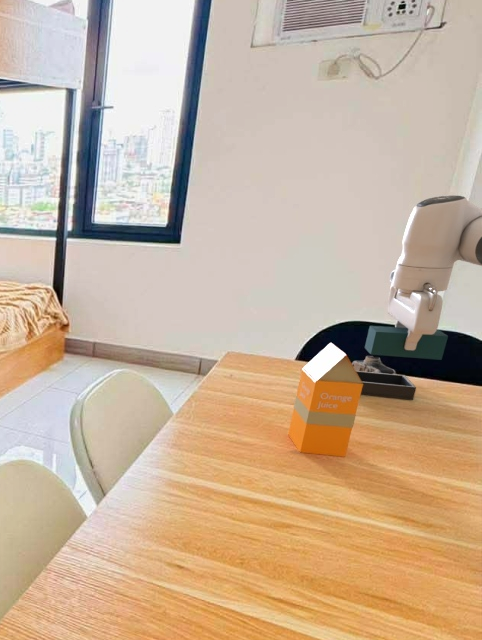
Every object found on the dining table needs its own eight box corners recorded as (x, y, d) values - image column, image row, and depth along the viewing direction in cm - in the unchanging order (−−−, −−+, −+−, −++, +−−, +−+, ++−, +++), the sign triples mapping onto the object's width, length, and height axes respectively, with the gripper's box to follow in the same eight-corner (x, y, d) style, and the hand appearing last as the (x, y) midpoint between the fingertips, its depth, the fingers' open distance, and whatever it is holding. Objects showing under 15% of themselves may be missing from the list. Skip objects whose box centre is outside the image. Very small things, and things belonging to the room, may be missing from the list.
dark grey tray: (401, 387, 154) (404, 375, 153) (412, 400, 145) (416, 387, 144) (323, 379, 160) (326, 368, 159) (330, 391, 152) (333, 379, 151)
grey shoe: (376, 379, 159) (380, 364, 158) (347, 367, 169) (350, 352, 167) (395, 379, 159) (399, 363, 158) (365, 367, 169) (369, 352, 168)
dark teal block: (432, 352, 133) (439, 329, 131) (441, 359, 128) (448, 336, 126) (364, 347, 137) (369, 325, 136) (370, 354, 133) (376, 331, 131)
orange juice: (299, 452, 120) (321, 352, 114) (287, 434, 128) (307, 340, 122) (346, 457, 118) (371, 355, 111) (331, 438, 126) (354, 342, 119)
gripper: (458, 289, 117) (439, 359, 122) (424, 272, 135) (408, 334, 139) (417, 287, 120) (399, 356, 124) (388, 271, 137) (374, 332, 142)
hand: (403, 345), depth 132 cm, fingers closed on dark teal block, 5 cm apart
